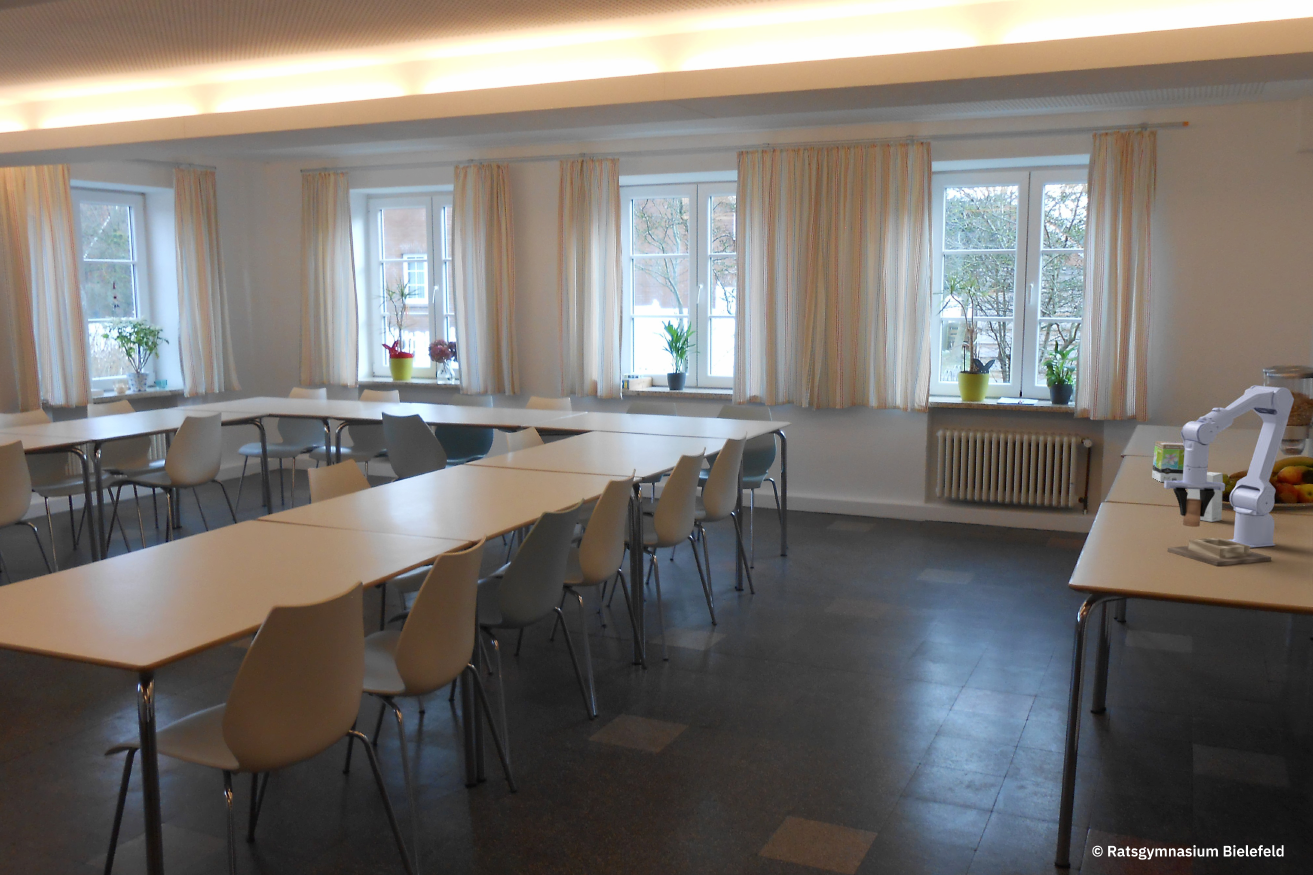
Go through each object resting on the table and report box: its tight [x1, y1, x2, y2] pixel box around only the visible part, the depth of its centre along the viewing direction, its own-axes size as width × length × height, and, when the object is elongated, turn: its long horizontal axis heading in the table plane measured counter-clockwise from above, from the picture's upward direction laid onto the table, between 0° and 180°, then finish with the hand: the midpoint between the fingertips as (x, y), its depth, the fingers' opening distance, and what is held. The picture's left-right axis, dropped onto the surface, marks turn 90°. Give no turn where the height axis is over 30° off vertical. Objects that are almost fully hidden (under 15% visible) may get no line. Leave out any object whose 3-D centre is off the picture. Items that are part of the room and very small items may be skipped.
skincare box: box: [1186, 471, 1224, 523], centre depth 310 cm, size 8×6×15 cm
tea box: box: [1151, 440, 1185, 483], centre depth 378 cm, size 15×10×15 cm
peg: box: [1182, 498, 1201, 528], centre depth 271 cm, size 4×4×7 cm
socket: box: [1167, 537, 1272, 567], centre depth 265 cm, size 18×16×4 cm
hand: (1192, 515), depth 271 cm, fingers closed on peg, 4 cm apart
